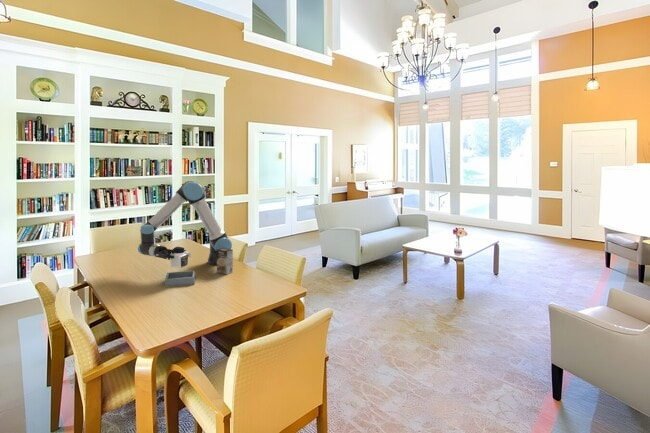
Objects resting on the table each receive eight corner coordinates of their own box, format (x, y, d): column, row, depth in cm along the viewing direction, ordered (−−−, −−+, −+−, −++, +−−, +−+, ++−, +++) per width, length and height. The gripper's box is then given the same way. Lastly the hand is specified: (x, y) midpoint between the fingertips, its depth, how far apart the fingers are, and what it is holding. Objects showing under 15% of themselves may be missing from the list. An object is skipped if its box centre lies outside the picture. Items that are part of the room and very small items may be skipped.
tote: (194, 277, 229) (194, 270, 229) (194, 284, 216) (194, 277, 215) (167, 279, 224) (167, 272, 223) (165, 286, 211) (165, 279, 210)
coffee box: (216, 272, 240) (215, 249, 238) (222, 270, 246) (222, 247, 243) (227, 274, 236) (226, 251, 234) (233, 272, 242) (233, 249, 240)
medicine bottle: (181, 268, 214) (180, 248, 213) (170, 267, 216) (169, 247, 214) (188, 265, 221) (187, 246, 220) (177, 264, 223) (177, 245, 221)
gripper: (172, 253, 235) (198, 258, 225) (143, 260, 216) (170, 266, 207) (172, 242, 234) (198, 246, 224) (143, 248, 215) (170, 253, 206)
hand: (184, 256), depth 216 cm, fingers closed on medicine bottle, 8 cm apart
